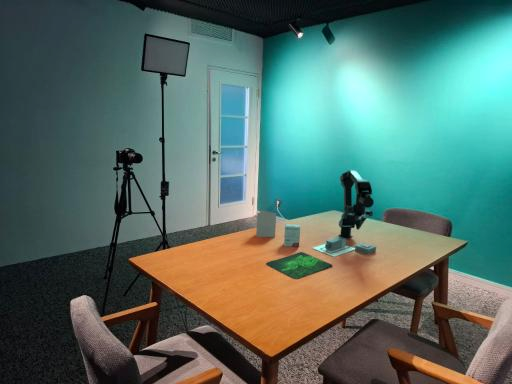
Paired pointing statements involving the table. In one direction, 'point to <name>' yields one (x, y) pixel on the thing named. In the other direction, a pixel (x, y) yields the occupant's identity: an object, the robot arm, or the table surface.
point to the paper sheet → (335, 252)
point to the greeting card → (266, 224)
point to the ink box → (292, 235)
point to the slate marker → (335, 243)
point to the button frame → (365, 249)
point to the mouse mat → (298, 265)
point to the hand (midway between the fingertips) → (357, 229)
